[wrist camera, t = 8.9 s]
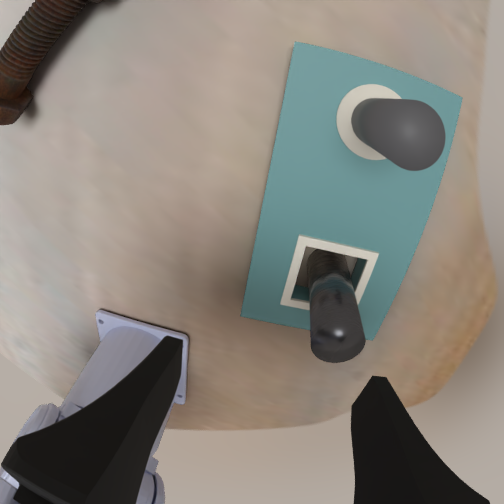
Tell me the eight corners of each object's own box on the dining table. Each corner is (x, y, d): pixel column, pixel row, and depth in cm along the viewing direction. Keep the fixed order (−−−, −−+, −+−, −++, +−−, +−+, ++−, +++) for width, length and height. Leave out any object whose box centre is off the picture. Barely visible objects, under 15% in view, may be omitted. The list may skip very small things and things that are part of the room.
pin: (339, 283, 20) (353, 365, 13) (303, 276, 20) (304, 358, 14) (350, 250, 19) (373, 327, 12) (312, 242, 19) (319, 318, 12)
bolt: (172, -50, 12) (31, 103, 17) (124, -88, 9) (-12, 73, 14) (173, -62, 9) (1, 139, 14) (109, -109, 5) (-51, 104, 10)
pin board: (369, 326, 21) (386, 405, 15) (243, 302, 21) (223, 382, 15) (450, 96, 13) (526, 106, 7) (294, 46, 14) (295, 11, 7)
